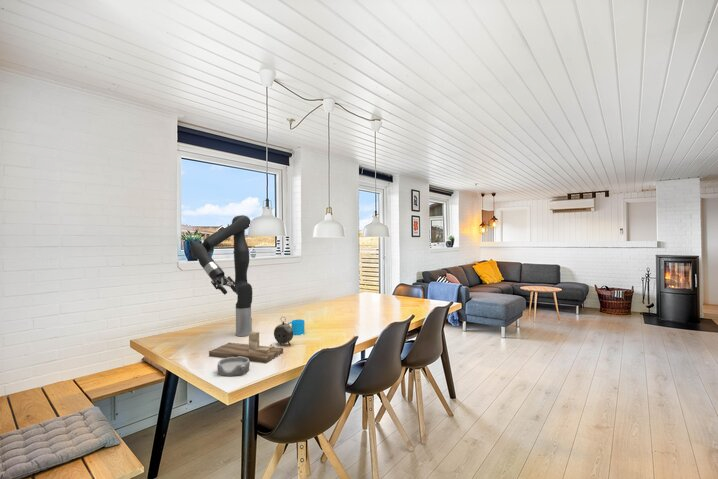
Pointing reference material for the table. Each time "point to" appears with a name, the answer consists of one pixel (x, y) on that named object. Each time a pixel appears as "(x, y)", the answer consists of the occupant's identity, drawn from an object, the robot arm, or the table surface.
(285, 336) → the alarm clock
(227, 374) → the dish
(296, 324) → the mug
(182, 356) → the table surface
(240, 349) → the walnut board
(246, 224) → the robot arm
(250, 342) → the marking gauge
